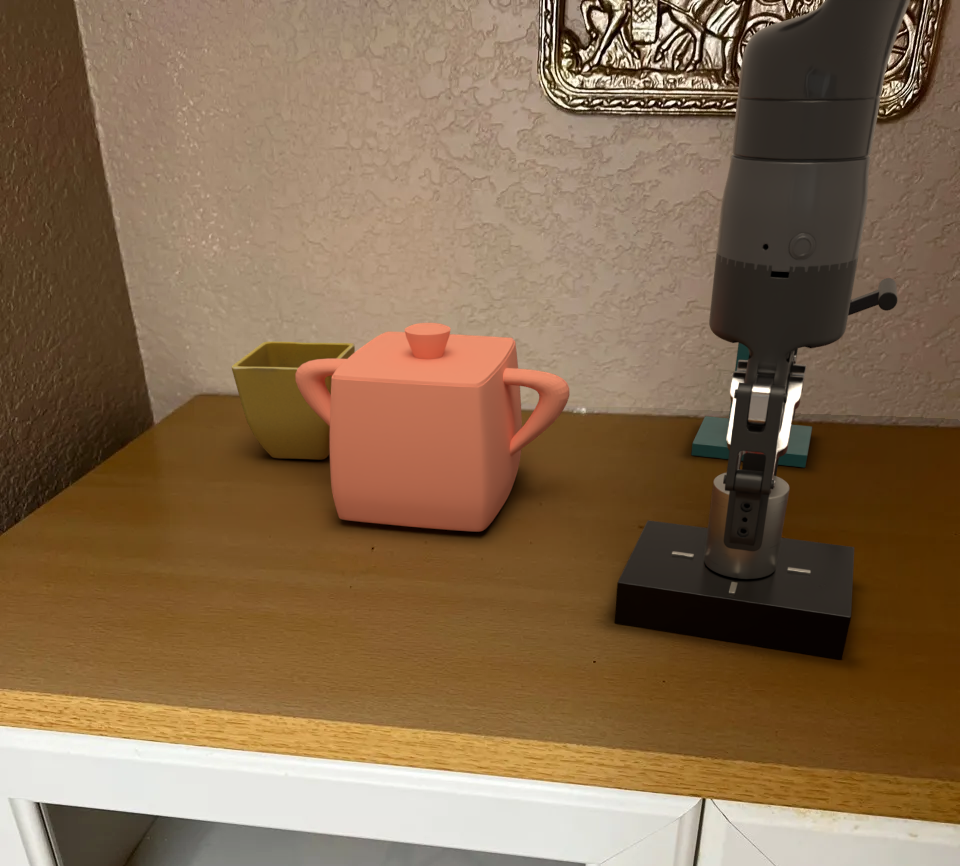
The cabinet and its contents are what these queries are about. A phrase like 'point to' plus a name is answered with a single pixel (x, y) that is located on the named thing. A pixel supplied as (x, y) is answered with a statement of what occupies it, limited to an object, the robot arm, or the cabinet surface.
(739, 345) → the lever bracket
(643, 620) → the dial panel
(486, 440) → the sugar bowl
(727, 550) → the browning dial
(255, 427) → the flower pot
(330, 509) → the cabinet surface
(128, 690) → the cabinet surface
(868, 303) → the lever
